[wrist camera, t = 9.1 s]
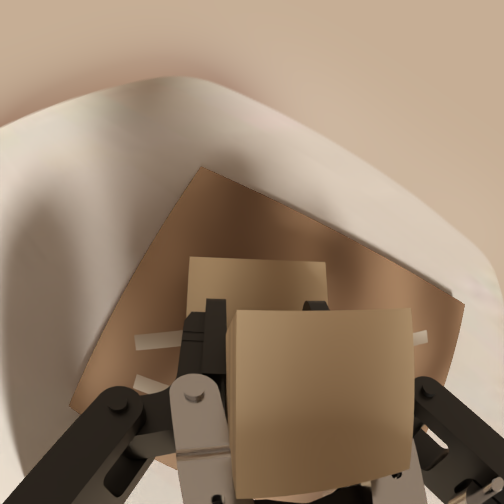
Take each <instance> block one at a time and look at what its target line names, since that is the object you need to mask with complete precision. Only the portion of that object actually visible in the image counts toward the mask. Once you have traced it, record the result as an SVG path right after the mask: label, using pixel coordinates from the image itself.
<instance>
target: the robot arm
mask: <svg viewBox="0 0 504 504" xmlns="http://www.w3.org/2000/svg"><path fill="white" fill-rule="evenodd" d="M302 311H330V309H329V307H328V305H327V303H326V302H325V301H305V302H304V305H303V309H302ZM226 332H227V315H226V299H210V298H206V310H205V312H191V313H190V314H189V315H188V317H187V318H186V319H185V320H184V326H183V333H182V342H181V348H180V355H179V363H178V371H177V376H176V379H175V381H174V382H173V383H172V384H171V385H170V386H169V387H168V388H166V389H165V390H163V391H160V392H157V393H152V394H146V395H139V394H138V393H137V392H136V391H135V390H133V389H131V388H129V387H125V386H114V387H110V388H108V389H106V390H104V391H103V392H101V393H100V394H99V395H98V397H97V398H96V399H95V400H94V401H93V402H92V403H91V404H90V405H89V406H88V408H87V409H86V410H85V411H84V412H83V413H82V414H81V415H80V416H79V418H78V419H77V420H76V421H75V422H74V423H73V424H72V425H71V426H70V428H69V429H68V430H67V431H66V432H65V433H64V434H63V435H62V436H61V438H60V439H59V440H58V441H57V442H56V443H55V444H54V445H53V447H52V448H51V449H50V450H49V451H48V452H47V453H46V454H45V456H44V457H43V458H42V459H41V460H40V461H39V462H38V463H37V465H36V466H35V467H34V468H33V469H32V470H31V471H30V473H29V474H28V475H27V476H26V477H25V478H24V479H23V481H22V482H21V483H20V484H19V485H18V486H17V487H16V489H15V490H14V491H13V492H12V493H11V494H10V496H9V497H8V498H7V499H6V500H5V501H4V503H3V504H124V502H125V501H126V499H127V498H128V497H129V495H130V494H131V492H132V491H133V489H134V488H135V486H136V485H137V484H138V482H139V481H140V479H141V478H142V476H143V475H144V473H145V472H146V470H147V469H148V468H149V466H150V465H151V463H152V462H153V460H154V459H155V457H157V456H162V455H167V454H172V453H176V462H177V469H178V475H179V481H180V487H181V492H182V498H183V503H184V504H427V498H426V493H425V488H424V485H425V486H426V487H427V488H428V489H429V490H430V491H432V492H433V493H434V494H435V495H436V496H437V497H438V498H439V499H440V500H441V501H442V502H443V503H444V504H504V438H502V437H501V436H500V435H499V434H498V433H497V432H496V431H494V430H493V429H492V428H491V427H490V426H489V425H488V424H486V423H485V422H484V421H483V420H482V419H481V418H480V417H478V416H477V415H476V414H475V413H474V412H473V411H472V410H470V409H469V408H468V407H467V406H466V405H465V404H463V403H462V402H461V401H460V400H459V399H458V398H456V397H455V396H454V395H453V394H452V393H451V392H449V391H448V390H447V389H446V388H445V387H444V386H442V385H441V384H440V383H439V382H438V381H436V380H435V379H433V378H431V377H427V376H420V377H417V378H415V379H414V422H413V438H412V450H411V460H410V469H408V470H405V471H402V472H399V473H396V474H392V475H389V476H386V477H382V478H379V479H375V480H371V481H367V482H363V483H359V484H355V485H351V486H346V487H341V488H336V489H331V490H325V491H323V497H322V498H319V499H317V500H315V501H312V502H309V503H294V502H284V501H276V500H268V499H263V500H253V498H252V499H236V493H235V488H234V483H233V477H232V463H231V451H230V447H229V428H228V424H227V421H226V417H225V393H226ZM424 425H426V426H427V427H428V428H429V429H430V430H431V431H432V432H433V433H435V434H436V435H437V436H438V437H439V438H440V439H441V440H442V441H443V442H444V443H445V444H446V445H447V446H448V448H449V449H444V448H442V447H441V446H440V445H438V444H437V443H436V442H435V441H434V440H433V439H432V438H431V437H430V436H429V435H428V434H427V433H426V432H425V431H423V430H422V429H421V428H422V427H423V426H424Z"/></svg>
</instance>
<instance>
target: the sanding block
mask: <svg viewBox="0 0 504 504" xmlns="http://www.w3.org/2000/svg"><path fill="white" fill-rule="evenodd" d="M206 298H210V299H226V315H227V332H226V393H225V417H226V421H227V424H228V428H229V447H230V451H231V463H232V477H233V483H234V488H235V493H236V499H252V498H269V497H281V496H290V495H299V494H306V493H313V492H319V491H325V490H331V489H336V488H341V487H346V486H351V485H355V484H359V483H363V482H367V481H371V480H375V479H379V478H382V477H386V476H389V475H392V474H396V473H399V472H402V471H405V470H408V469H410V460H411V450H412V438H413V422H414V345H413V328H412V315H411V308H396V309H372V310H334V311H302V309H303V305H304V302H305V301H325V302H326V303H327V305H328V295H327V279H326V264H325V262H310V261H284V260H259V259H235V258H211V257H190V261H189V275H188V292H187V312H186V318H187V317H188V315H189V314H190V313H191V312H205V310H206Z"/></svg>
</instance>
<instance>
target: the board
mask: <svg viewBox="0 0 504 504" xmlns="http://www.w3.org/2000/svg"><path fill="white" fill-rule="evenodd" d="M190 257H211V258H235V259H259V260H284V261H310V262H325V264H326V279H327V295H328V307H329V309H330V311H334V310H372V309H396V308H411V315H412V328H413V345H414V379H415V378H417V377H420V376H427V377H431V378H433V379H435V380H436V381H438V382H439V383H440V384H441V385H442V386H444V384H445V381H446V378H447V375H448V372H449V368H450V365H451V362H452V358H453V354H454V351H455V347H456V343H457V339H458V335H459V331H460V326H461V322H462V317H463V312H464V307H465V304H463V303H462V302H460V301H459V300H457V299H455V298H454V297H452V296H450V295H449V294H447V293H445V292H444V291H442V290H440V289H439V288H437V287H435V286H434V285H432V284H430V283H429V282H427V281H425V280H424V279H422V278H420V277H418V276H417V275H415V274H413V273H412V272H410V271H408V270H406V269H405V268H403V267H401V266H399V265H397V264H396V263H394V262H392V261H390V260H389V259H387V258H385V257H383V256H381V255H380V254H378V253H376V252H374V251H372V250H370V249H369V248H367V247H365V246H363V245H361V244H359V243H358V242H356V241H354V240H352V239H350V238H348V237H346V236H344V235H342V234H341V233H339V232H337V231H335V230H333V229H331V228H329V227H327V226H325V225H323V224H321V223H319V222H317V221H315V220H313V219H311V218H309V217H307V216H305V215H303V214H301V213H299V212H297V211H295V210H293V209H291V208H289V207H287V206H285V205H283V204H281V203H279V202H277V201H275V200H273V199H271V198H269V197H267V196H265V195H262V194H260V193H258V192H256V191H254V190H252V189H250V188H248V187H245V186H243V185H241V184H239V183H237V182H235V181H232V180H230V179H228V178H226V177H224V176H221V175H219V174H217V173H215V172H213V171H210V170H208V169H206V168H203V167H200V169H199V170H198V172H197V173H196V175H195V176H194V178H193V179H192V181H191V182H190V184H189V185H188V187H187V188H186V190H185V191H184V193H183V194H182V196H181V197H180V199H179V200H178V202H177V203H176V205H175V206H174V208H173V210H172V211H171V213H170V214H169V216H168V217H167V219H166V221H165V222H164V224H163V225H162V227H161V229H160V230H159V232H158V234H157V235H156V237H155V238H154V240H153V242H152V243H151V245H150V247H149V248H148V250H147V252H146V254H145V255H144V257H143V259H142V260H141V262H140V264H139V266H138V267H137V269H136V271H135V273H134V274H133V276H132V278H131V280H130V281H129V283H128V285H127V287H126V289H125V290H124V292H123V294H122V296H121V298H120V300H119V302H118V303H117V305H116V307H115V309H114V311H113V313H112V315H111V317H110V319H109V321H108V323H107V325H106V326H105V328H104V330H103V332H102V334H101V336H100V338H99V340H98V343H97V345H96V347H95V349H94V351H93V353H92V355H91V357H90V359H89V361H88V363H87V366H86V368H85V370H84V372H83V374H82V377H81V379H80V381H79V383H78V386H77V388H76V390H75V392H74V395H73V397H72V400H71V402H70V404H69V407H71V408H72V409H73V410H75V411H76V412H78V413H79V414H80V415H81V414H82V413H83V412H84V411H85V410H86V409H87V408H88V406H89V405H90V404H91V403H92V402H93V401H94V400H95V399H96V398H97V397H98V395H99V394H100V393H101V392H103V391H104V390H106V389H108V388H110V387H114V386H125V387H129V388H131V389H133V390H135V391H136V392H137V393H138V394H139V395H146V394H152V393H157V392H160V391H163V390H165V389H166V388H168V387H169V386H170V385H171V384H172V383H173V382H174V381H175V379H176V376H177V371H178V363H179V355H180V348H181V342H182V333H183V326H184V320H185V319H186V312H187V292H188V275H189V261H190ZM421 429H422V430H423V431H425V432H427V430H428V427H427V426H426V425H424V426H423V427H422V428H421ZM155 460H157V461H159V462H161V463H163V464H165V465H167V466H169V467H171V468H174V469H176V470H178V469H177V462H176V453H172V454H167V455H162V456H157V457H155ZM322 497H323V491H319V492H313V493H306V494H299V495H290V496H281V497H269V498H253V499H255V500H263V499H268V500H276V501H284V502H294V503H309V502H312V501H315V500H317V499H319V498H322Z"/></svg>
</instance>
